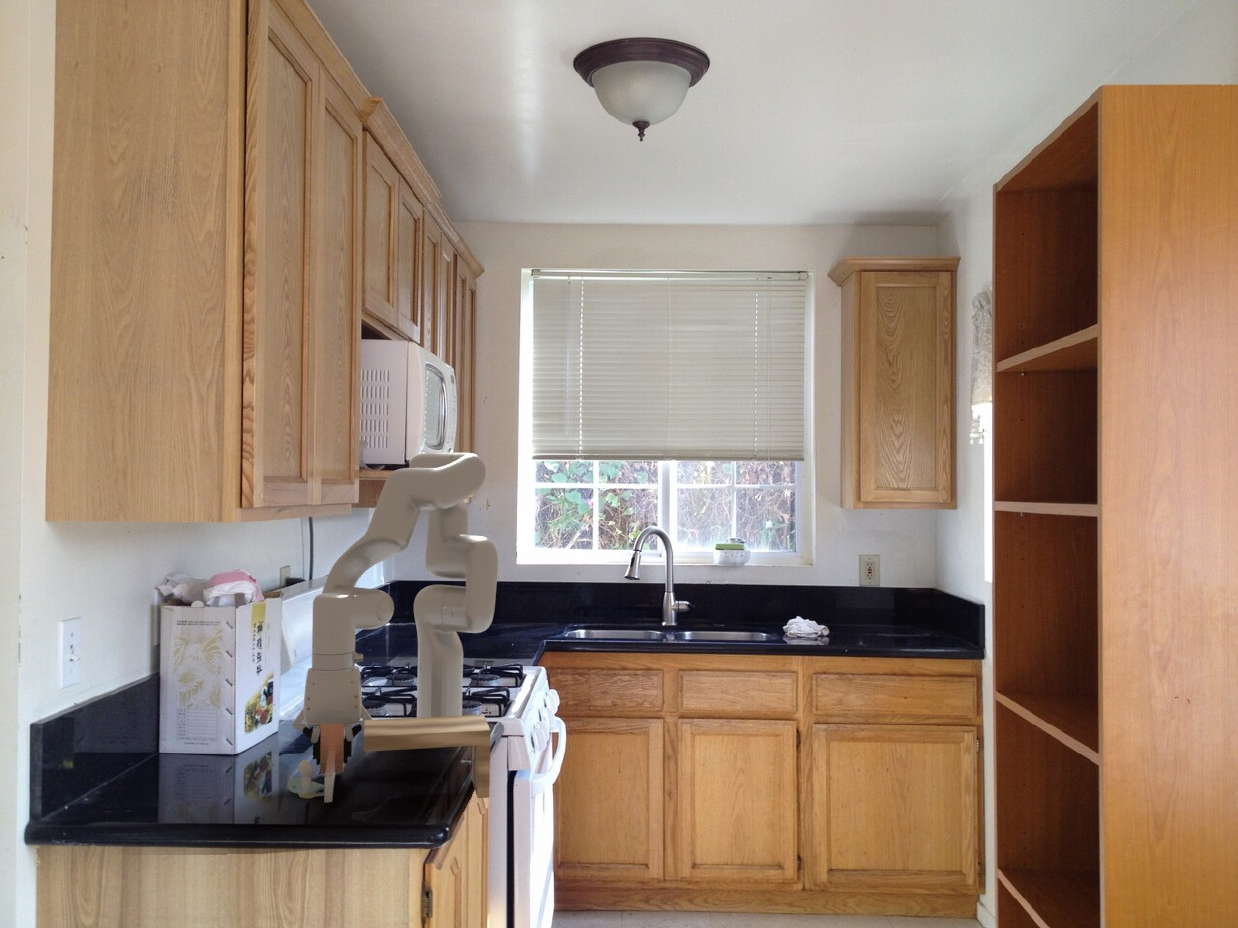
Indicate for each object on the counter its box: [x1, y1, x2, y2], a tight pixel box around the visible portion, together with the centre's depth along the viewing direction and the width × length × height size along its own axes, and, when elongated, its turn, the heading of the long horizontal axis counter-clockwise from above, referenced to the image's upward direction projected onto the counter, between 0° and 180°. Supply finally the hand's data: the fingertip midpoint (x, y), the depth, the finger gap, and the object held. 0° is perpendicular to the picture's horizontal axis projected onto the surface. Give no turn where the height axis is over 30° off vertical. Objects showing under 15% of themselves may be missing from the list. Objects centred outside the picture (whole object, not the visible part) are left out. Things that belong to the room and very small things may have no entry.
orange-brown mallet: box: [319, 723, 345, 803], centre depth 166 cm, size 20×4×9 cm, turn 15°
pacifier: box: [287, 759, 325, 799], centre depth 164 cm, size 7×6×6 cm
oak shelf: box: [363, 714, 491, 799], centre depth 166 cm, size 11×21×12 cm, turn 104°
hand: (332, 760), depth 173 cm, fingers closed on orange-brown mallet, 4 cm apart
